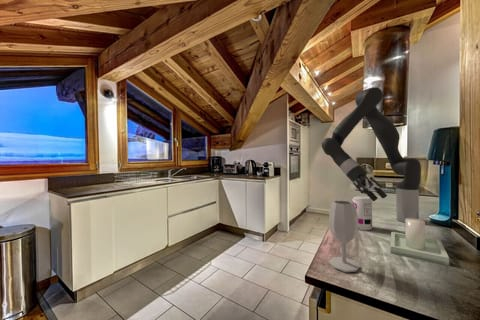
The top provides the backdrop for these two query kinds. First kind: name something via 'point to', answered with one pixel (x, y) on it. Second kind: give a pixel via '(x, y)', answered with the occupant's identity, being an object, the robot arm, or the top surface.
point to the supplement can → (363, 212)
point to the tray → (431, 253)
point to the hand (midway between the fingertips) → (380, 198)
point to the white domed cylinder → (415, 233)
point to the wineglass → (343, 232)
